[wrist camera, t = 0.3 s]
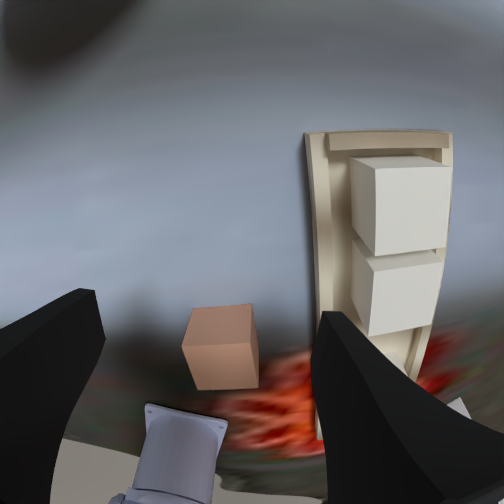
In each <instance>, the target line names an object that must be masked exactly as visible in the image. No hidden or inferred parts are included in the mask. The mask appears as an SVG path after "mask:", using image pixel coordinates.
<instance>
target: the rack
mask: <svg viewBox="0 0 504 504" xmlns="http://www.w3.org/2000/svg"><path fill="white" fill-rule="evenodd" d="M304 136H305V145H306V155H307V165H308V176H309V188H310V201H311V215H312V230H313V247H314V268H315V295H316V335H317V331H318V327H319V323H320V319H321V314H322V311H342V312H343V313H344V314H345V315H346V316H347V317H348V318H349V319H350V320H351V321H352V322H353V324H354V325H355V326H356V327H357V328H358V329H359V330H360V331H361V332H362V333H363V334H364V335H365V336H366V337H367V338H368V339H369V340H370V341H371V342H372V343H373V344H374V345H375V346H376V347H377V348H378V349H379V350H380V351H381V352H382V353H383V352H388V351H393V350H396V352H397V354H398V356H399V358H400V360H401V362H402V365H403V367H404V369H405V371H406V373H407V375H408V377H409V378H410V379H411V380H413V381H414V382H416V379H417V376H418V373H419V370H420V366H421V363H422V360H423V357H424V353H425V350H426V346H427V342H428V339H429V335H430V331H431V327H432V323H433V319H434V315H435V310H436V306H437V301H438V296H439V291H440V286H441V281H442V275H443V269H444V262H445V256H446V248H447V241H448V232H449V222H450V211H451V196H452V168H453V147H452V133H450V132H444V131H437V130H412V129H366V130H338V131H320V132H306V133H304ZM405 154H414V155H417V156H420V157H424V158H427V159H430V160H433V161H436V162H439V163H442V164H444V165H447V166H450V167H451V193H450V209H449V221H448V231H447V240H446V247H443V248H436V249H431V250H432V251H433V252H434V253H435V254H436V255H437V256H438V257H439V258H440V259H441V260H442V261H443V268H442V275H441V280H440V286H439V291H438V296H437V301H436V306H435V310H434V315H433V319H432V323H431V324H430V325H426V326H421V327H416V328H412V329H407V330H402V331H397V332H392V333H386V334H381V335H375V336H370V337H368V335H367V333H366V331H365V328H364V326H363V324H362V321H361V319H360V317H359V314H358V312H357V310H356V308H355V305H354V303H353V301H352V299H351V276H352V239H359V238H361V237H360V236H359V235H358V234H357V232H356V231H355V230H354V228H353V227H352V209H351V182H350V163H349V157H350V156H370V155H405ZM315 428H316V436H317V440H322V439H323V437H322V432H321V427H320V422H319V417H318V413H317V408H316V416H315Z"/></svg>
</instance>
